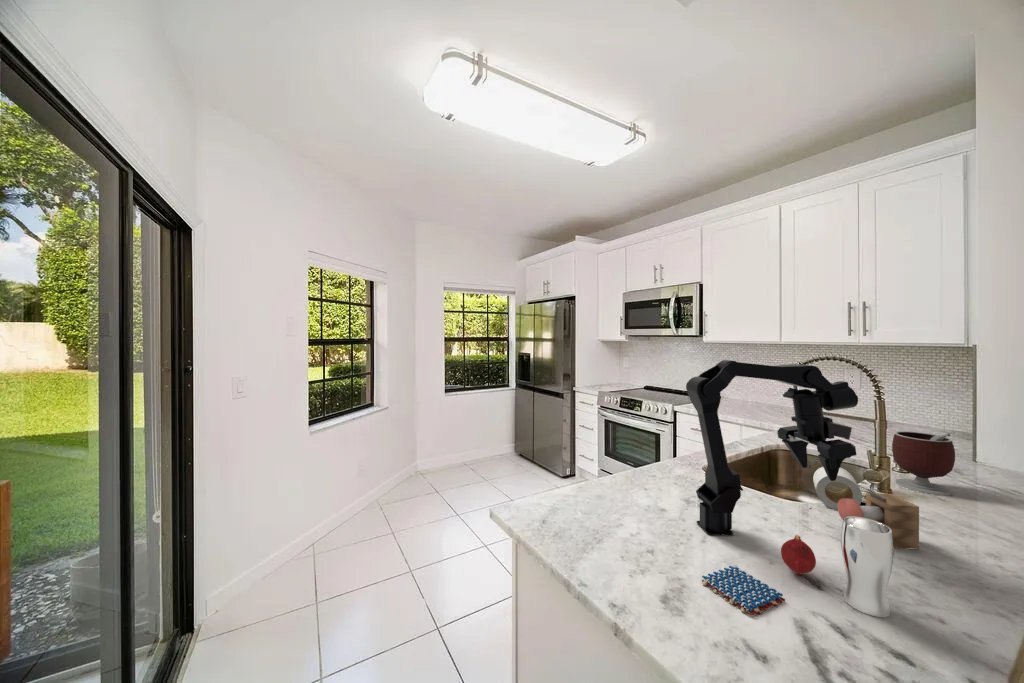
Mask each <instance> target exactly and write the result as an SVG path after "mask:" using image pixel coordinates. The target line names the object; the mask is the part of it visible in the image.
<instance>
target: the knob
mask: <svg viewBox="0 0 1024 683" xmlns="http://www.w3.org/2000/svg"><path fill="white" fill-rule="evenodd" d="M837 512H838V514H839V516H840V518H841V520H842V521H843V518H844V517H846V516H856V517H863V518H867V519H873V520H885V510H884V509H883V508H882V507H877V506H866V505H859V504H858V503H857V502H856V501H855V500H853V499H847V498H842V499H840V500H839V501H838V510H837Z"/></svg>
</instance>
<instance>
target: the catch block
mask: <svg viewBox="0 0 1024 683" xmlns="http://www.w3.org/2000/svg"><path fill="white" fill-rule="evenodd" d="M865 506H877V507H882V508H883V509H884V510H885V520H874V521H877V522H880V523H882V524H884V525H886V526H888V527H889V528H890V529H891V530H892V540H893V549H905V548H918V549H917V550H919V549H920V506H919V505H916V504H914V503H913V502H910V501H908V500H905V499H904V498H901V497H899V496H897V495H895V494H893V493H890V494H889V493H878V492H877V493H875V492H872V491H871V492H865ZM871 520H873V519H871Z"/></svg>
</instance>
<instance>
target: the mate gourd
mask: <svg viewBox="0 0 1024 683" xmlns="http://www.w3.org/2000/svg"><path fill="white" fill-rule="evenodd" d="M949 437H951V434H950V433H943V434H934V433H926V432H918V431H903V430H901V431H894V435H893V438H892V442H891V443H892V444H891V447H892V448H891V451H892V456H893V460H894V462H895V463H896V464H897V466H898V467H900V469H901V470H904V471H905V472H907V473H910V474H911V475H913V476H915V478H914V479H913V478H898V479H895V484H896V485H897V486H899V487H901V488H903V487H904V488H903V489H906V488H908V489H907V490H909V489H911V490H910V491H912V490H915V491H914V492H916V491H919V492H918V493H920V492H922V493H921V494H925V493H927V494H926V495H931V494H934V495H933V496H941V495H944V496H945V495H946V496H950V495H952V491H951V489H949V488H947V487H946V486H942V485H939V484H936V483H932V482H930V480H929V479H930V478H943V477H946V476H947V475H948V474H949V473H950V472H952V471H953V469H954V465H955V462H956V451H955V445H954V442H953V439H952V438H949Z"/></svg>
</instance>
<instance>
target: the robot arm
mask: <svg viewBox="0 0 1024 683" xmlns="http://www.w3.org/2000/svg"><path fill="white" fill-rule="evenodd" d="M822 373H823V372H822V370H820V368H819V367H818V366H816V365H811V364H800V363H798V364H797V363H790V364H789V363H788V364H780V365H768V364H767V365H766V364H759V363H749V362H740V361H739V362H738V361H736V360H732V359H731V360H730V359H729V360H728V359H724V360H721V361H720V362H718V363H716V364H715V365H714V366H712V367H710V368H708V369H707V370H705V371H704V372H701V374H699V375H698V376H694V377H693V376H692V377H691V378H690V379H688V381H687V382H686V385H685V390H686V391H687V395H688V397H689V400H690V402H691V404H692V405H693V407H694V408H695V411H696V413H697V416H698V422H699V426H700V432H701V436H702V442H703V447H704V452H705V457H706V462H707V466H706V469H705V473H704V483H703V484H702V485H701V486H700V487H698V488H697V489H696V491H695V493H696V495H697V498H698V499H699V500H700V502H699V520H696V524H697V525H698V526H699V527H700V528H701V529H702V530H703V531H704V532H705V534H707V535H708V536H734V532H733V530H732V528H733V525H732V524H733V518H732V516H733V514H732V513H733V512H734V509H735V506H736V504H737V502H738V501H739V500H740V499H741V496H742V493H741V491H742V492H743V491H744V489H743V487H742V485H741V477H740V476H741V475H740V474H739V473H738V472H736V471H735V470H733V469H731V468H730V467H729V463H728V459H727V453H726V449H725V448H726V447H725V443H724V439H723V438H724V437H723V434H722V428H721V424H720V419H719V413H718V410H719V407H720V404H721V392H723V391H724V390H725V389H726V388H727V387H728V386H729V385H730V384H731V382H732V381H733V379H734V378H735V377H743V378H753V379H762V380H770V381H776V382H780V383H783V384H785V385H786V384H787V385H790V386H794V387H799V388H803V389H796V388H793V387H789V388H788V389H787V391H785V392H784V393H783V394H782V397H784V398H787V399H792V404H793V410H794V411H793V412H794V415H795V416H790V418H791V421H792V422H795V424H796V425H790V426H783V427H779V428H778V430H776V431H777V436H778V439H780V440H781V442H782V443H783V444H784V445H785V446H786V447H787V448H788V450H789V451H790V452H791V454H792V456H793V457H794V458H795V459H796V461H797V462H798V463H799V465H800V466H801V468H803V469H805V468H808V450H807V448H808V445H809V444H811V445H813V446H816V450H817V452H818V453H819V454H817V457H818V459H819V461H820V463H821V465H822V467H824V470H825V472H826V474H827V476H828V478H829V479H830V481H835V480H836V478H837V475H838V471H839V468H841V465H842V464H843V461H845V460H846V459H849V458H852V457H854V456H857V454H858V453H857V450H856V446H855V445H854V444H852V442H849V441H845V440H850V439H851V434H852V430H853V428H852V427H851V426H848V425H845V424H840V423H836V422H834V420H833V419H832V418H830V417H827V416H825V415H824V410H826V411H827V412H829V411H830V412H831V411H837V410H838V411H839V410H845V409H853V408H856V406H858V403H859V397H858V395H857V393H856V391H855V390H854V389H853V388H852V387H850V386H849V382H848V381H844V380H843V381H842V380H839V381H835V382H830V380H828V379H827V378H826V377H825V376H824V375H823V374H822ZM810 389H814V390H813V391H812V390H810ZM823 409H824V410H823ZM835 437H836V438H837V437H838V438H843V439H845V440H843V439H835ZM827 439H829V440H827Z"/></svg>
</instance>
